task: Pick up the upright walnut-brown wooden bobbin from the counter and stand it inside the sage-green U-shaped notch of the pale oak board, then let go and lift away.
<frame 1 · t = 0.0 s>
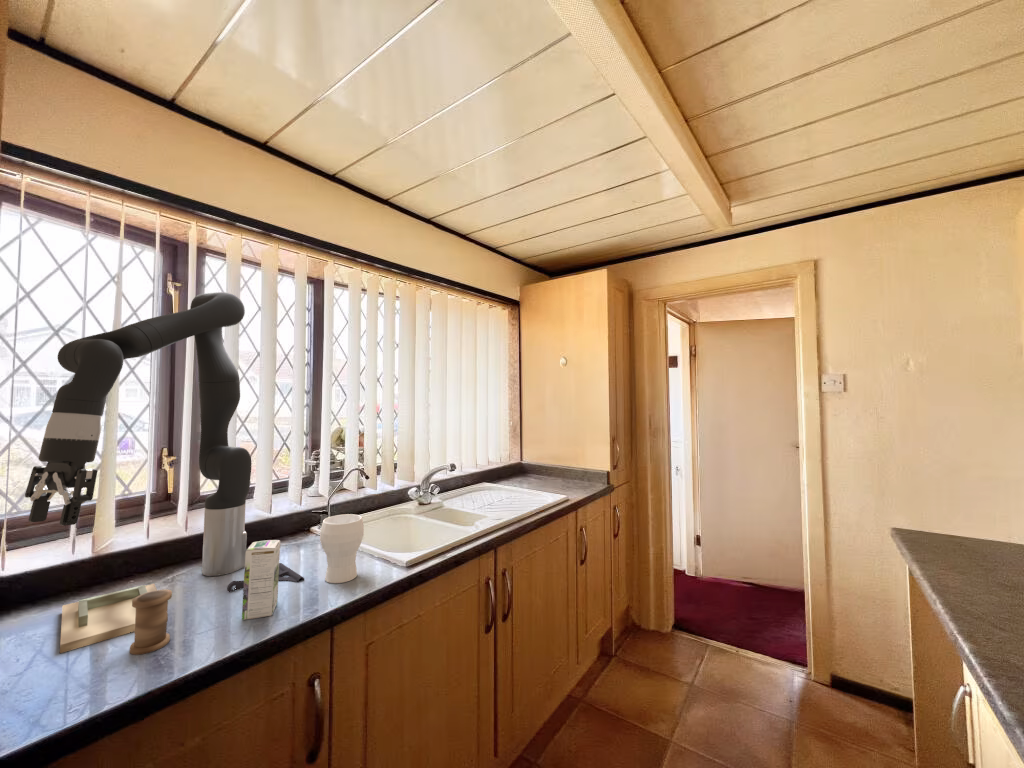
hand: (52, 523, 78), 22 cm above the countertop, tool pointing down, fingers open, 8 cm apart
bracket: (262, 585, 104), on the countertop
wooden bobbin: (150, 645, 76), on the countertop
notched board: (113, 617, 86), on the countertop
cup: (341, 578, 107), on the countertop
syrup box: (260, 612, 89), on the countertop
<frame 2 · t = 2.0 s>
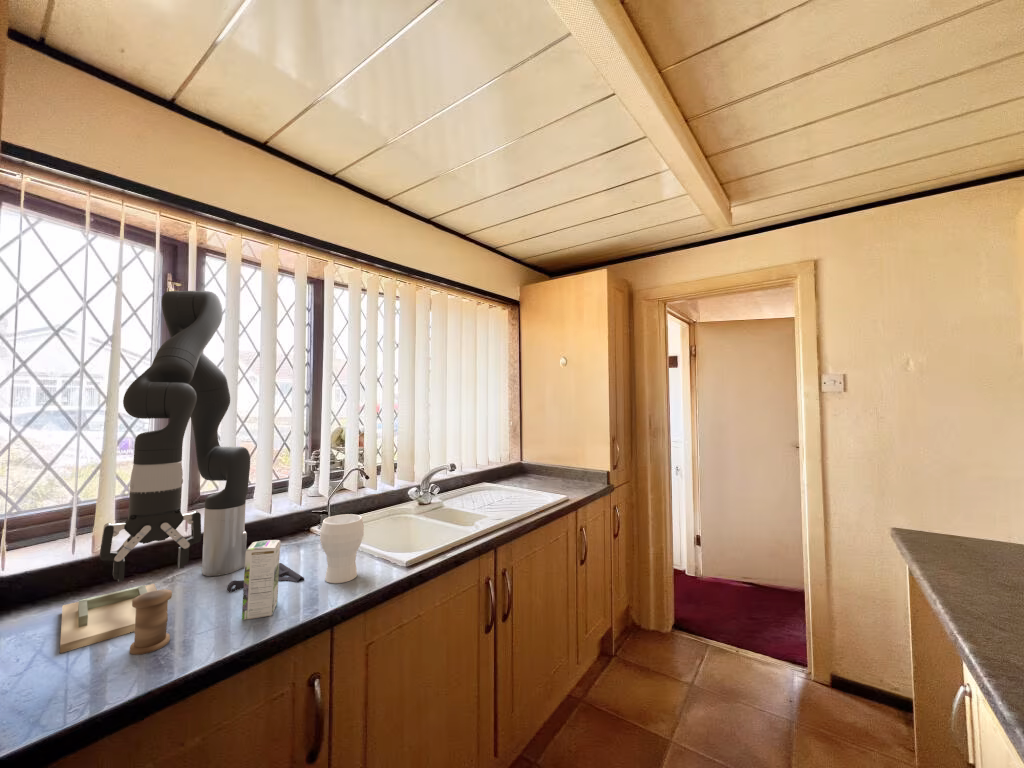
hand: (151, 573, 77), 13 cm above the countertop, tool pointing down, fingers open, 8 cm apart
nothing on the countertop moved.
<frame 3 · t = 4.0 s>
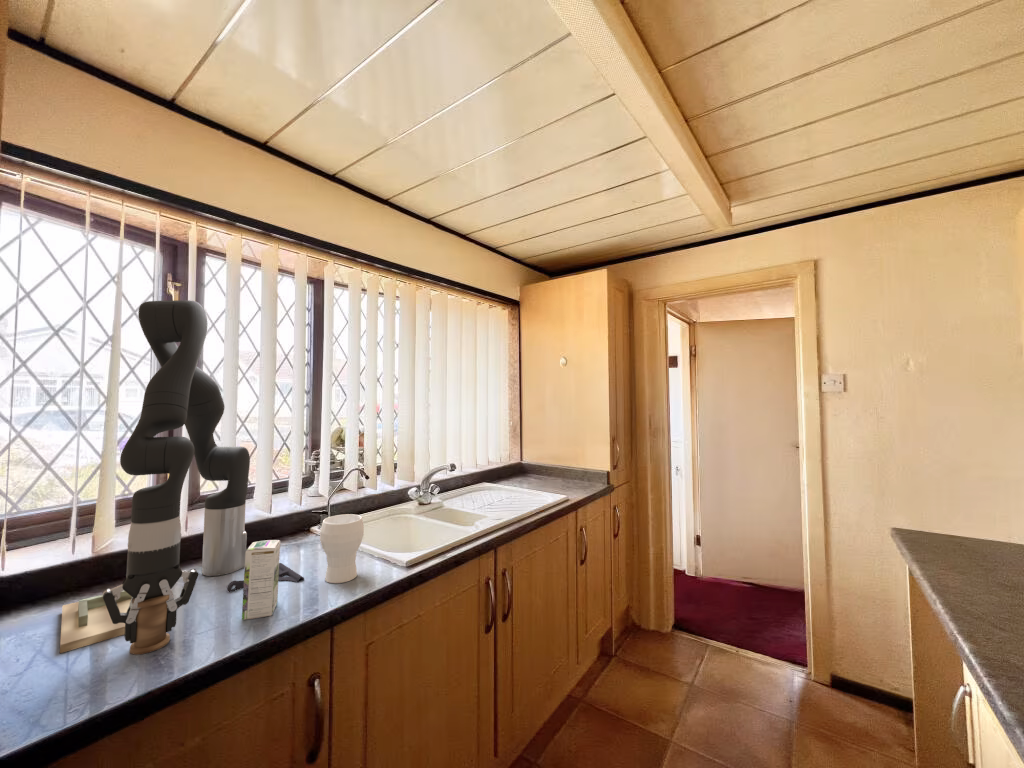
hand: (150, 635, 77), 2 cm above the countertop, tool pointing down, fingers closed on wooden bobbin, 4 cm apart
wooden bobbin: (150, 645, 76), on the countertop, touching gripper
everything else where it was.
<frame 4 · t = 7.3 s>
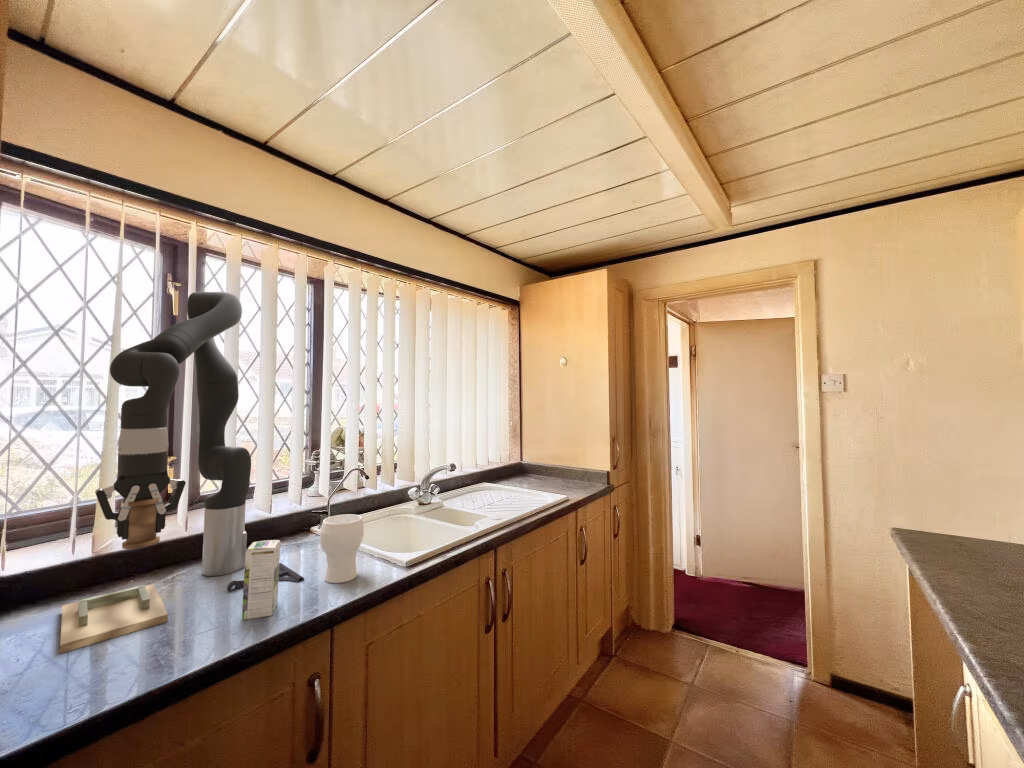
hand: (141, 534, 83), 19 cm above the countertop, tool pointing down, fingers closed on wooden bobbin, 4 cm apart
wooden bobbin: (141, 544, 82), point 17 cm above the countertop, touching gripper
everything else where it was.
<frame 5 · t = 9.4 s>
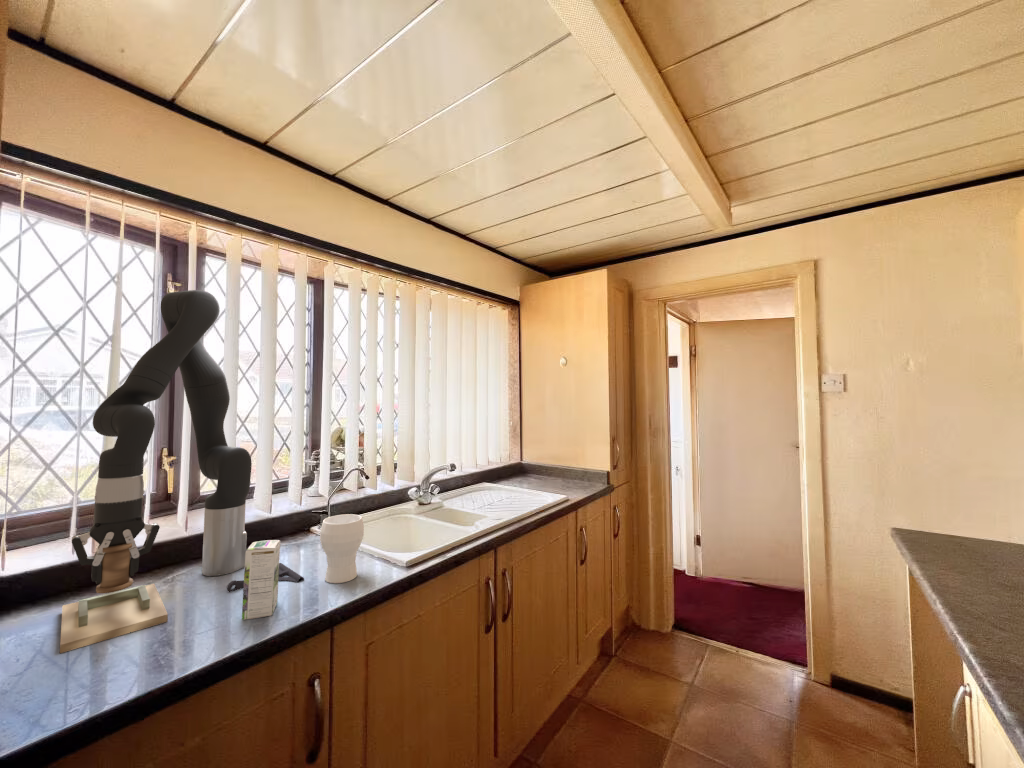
hand: (115, 578, 87), 8 cm above the countertop, tool pointing down, fingers closed on wooden bobbin, 4 cm apart
wooden bobbin: (114, 587, 87), point 6 cm above the countertop, touching gripper
everything else where it was.
when the fingers open (5 cm above the countertop, at t = 10.8 s): wooden bobbin drops 1 cm, resting on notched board.
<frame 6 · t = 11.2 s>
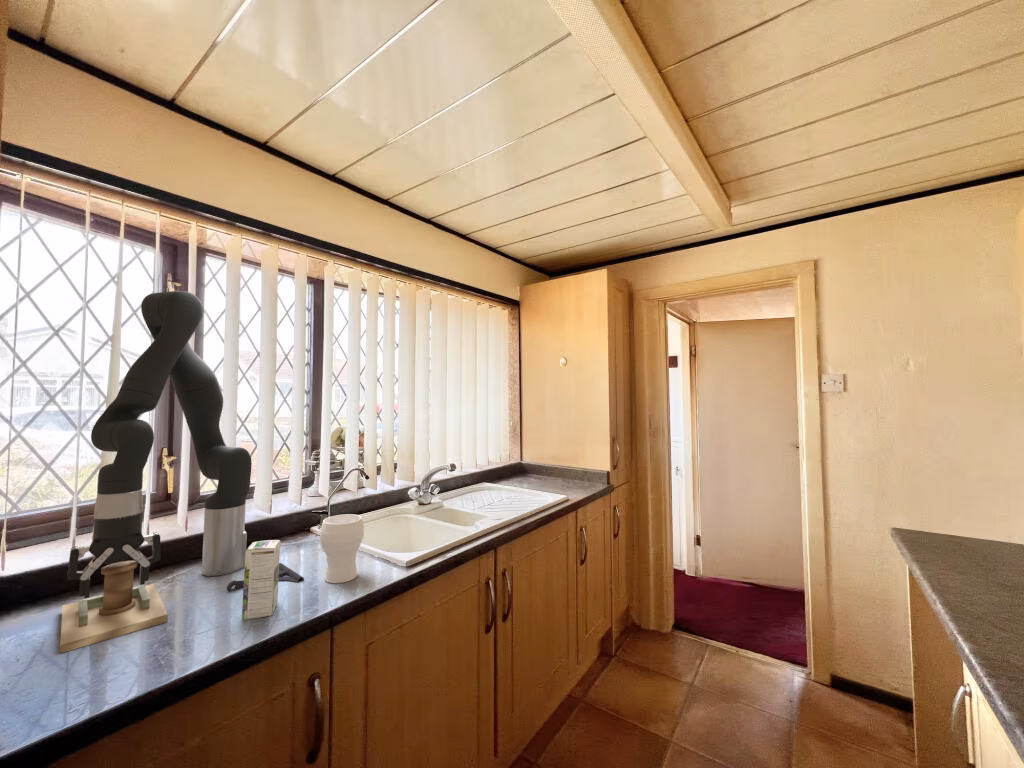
hand: (115, 590, 87), 6 cm above the countertop, tool pointing down, fingers open, 8 cm apart
wooden bobbin: (117, 608, 87), point 1 cm above the countertop, touching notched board
everything else where it was.
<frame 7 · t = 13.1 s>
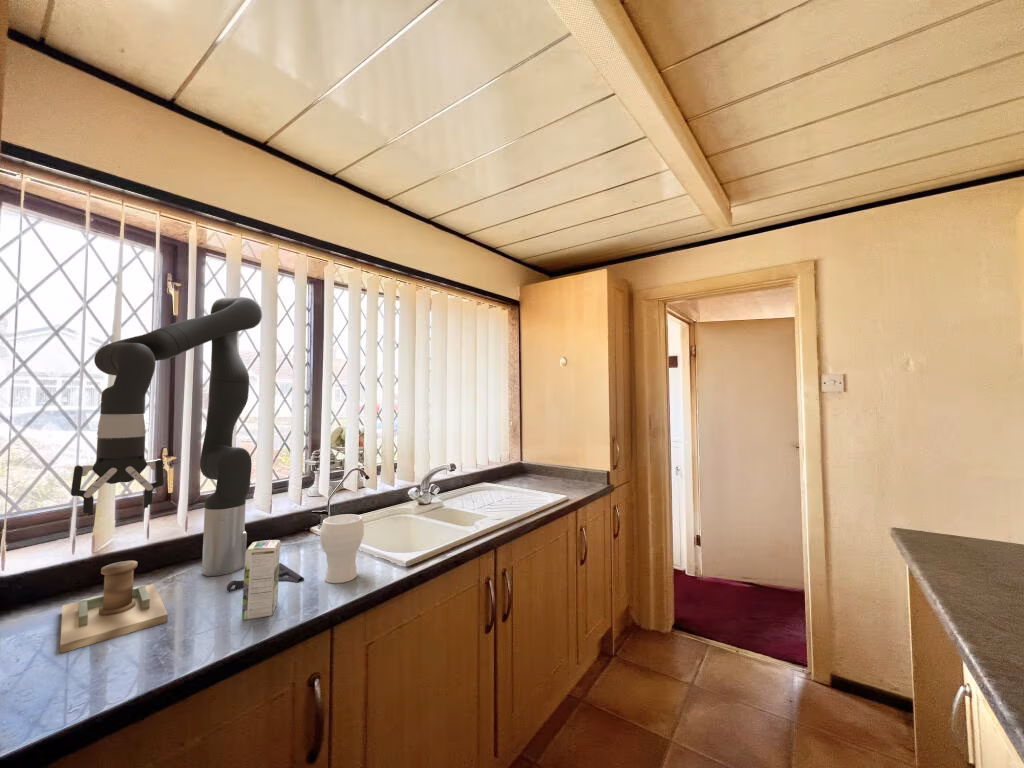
hand: (118, 511, 88), 22 cm above the countertop, tool pointing down, fingers open, 8 cm apart
nothing on the countertop moved.
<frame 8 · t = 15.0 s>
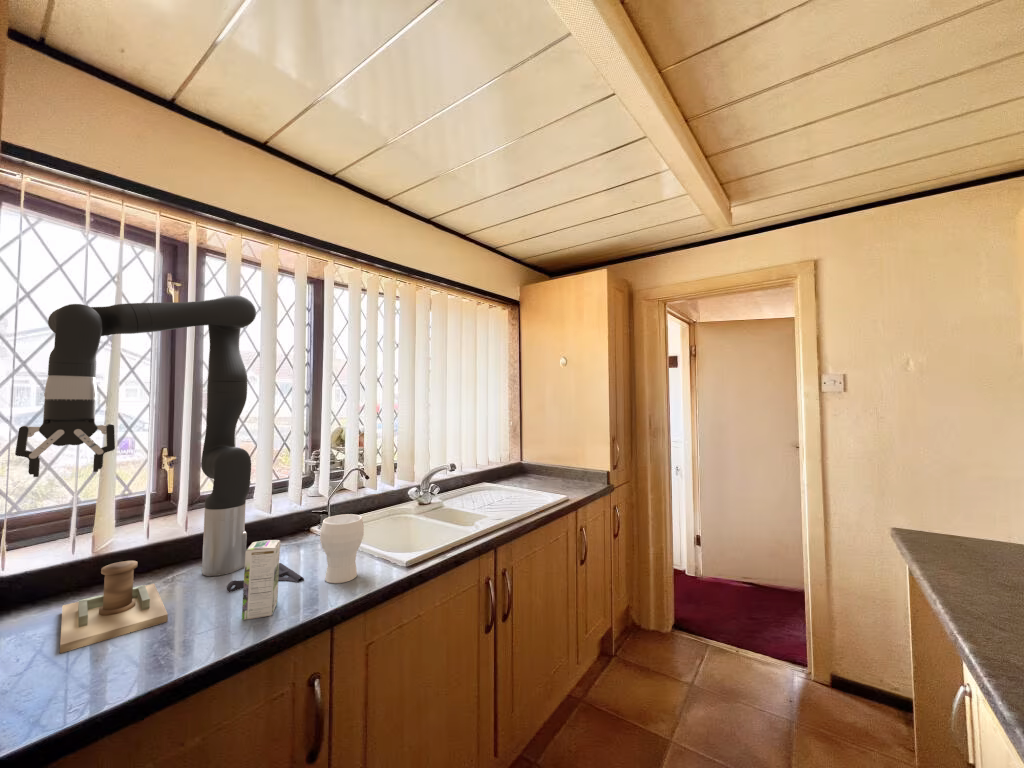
hand: (66, 474, 87), 30 cm above the countertop, tool pointing down, fingers open, 8 cm apart
nothing on the countertop moved.
at the end: wooden bobbin 0.7 cm off-centre on the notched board, point 1.5 cm above the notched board's base; wooden bobbin tilted 0°; the gripper is holding nothing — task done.
